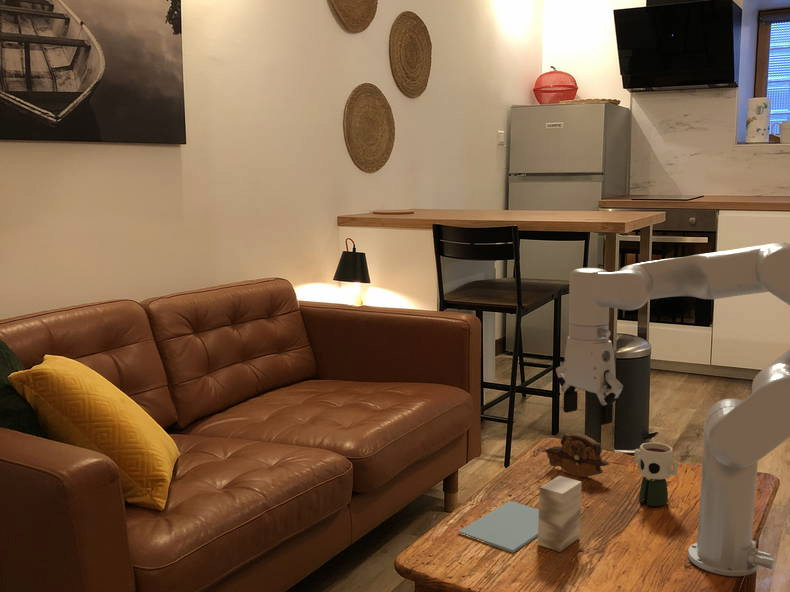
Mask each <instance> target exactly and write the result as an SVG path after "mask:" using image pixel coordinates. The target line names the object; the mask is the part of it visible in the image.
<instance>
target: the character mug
mask: <svg viewBox="0 0 790 592" xmlns="http://www.w3.org/2000/svg"><path fill="white" fill-rule="evenodd" d="M673 455H674V449H673V447H671V446H670V445H668V444H665V443H661V442H644V443H642V444H640V446H639V449H638V448H637V449H636V448H635V450H634V456H633V458H634V462H635V464H637V469H638V472H639V473H640V475H641V476H642V479H641V484H640V488H639V494H638V501H639V502H641V503H642V504H644V503H645V501H646V505H648V506H652V507H661V506H662V507H663V506H664V505H666V504H667V503H668V502H669V492H668V483H667V480H666V479H669V478H670V477H672V476H674V477H677V474H678V470H679V469H678V468H679V463H678V462H677V461H675V460H674V459H673Z"/></svg>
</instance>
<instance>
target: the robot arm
mask: <svg viewBox="0 0 790 592" xmlns="http://www.w3.org/2000/svg"><path fill="white" fill-rule="evenodd" d="M568 288H569V290H568V294H569V297H568V299H569V303H568V305H569V306H568V307H569V308H568V309H569V310H568V313H569V315H568V336H567V341H566V344H565V345H566V346H565V350H564V352H565V353H564V363H563V364H562V365H560V366H558V367H556V368H555V372H556V375H557V377H558V383H559V385H560V387H561V389H560V390H561V392H562V393H563V407H562V409H563V413H571V412H572V413H573V412H575V411H578V390H583V391H587V392H589V393H592V394H596V396H597V398H598V400H599V402H600V404H598V406H597V409H598V410H597V411H598V412H597V415H598V416H597V424H598V425H600V426H603V425H604V426H605V425H608V424H611V423H613V419H614V418H613V416H614V415H613V413H614V412H613V411H614V404H615V403H616V401H617V400H618V399H619V398H620V395H621V393H622V391H623V388H624V385H623V383H621V382H620V381H619V380H618V379H617V378H616V362H615V353H614V348H613V347H614V346H613V343H612V340H610V337H611V335H612V333H611V331H610V330H609V329H610V327H609V326H610V308H613V309H617V310H623V311H635V310H638V309H641V308H642V307H644V306H645V305H646V303H648V301H650V300H655V299H657V300H658V299H662V298H663V299H664V298H670V297H692V298H693V297H694V298H698V299H703V300H719V299H725V298H726V299H727V298H733V297H738V296H739V297H740V296H745V295H753V294H761V293H771V294H772V295H773V296H775V297H776V298H778V299H780V301H782V302H784V303H785V304H787V305H788V306H790V243H787V242H773V243H765V244H759V245H752V246H748V247H747V246H745V247H739V248H733V249H729V250H728V249H727V250H722V251H720V250H719V251H714V252H708V253H707V252H706V253H699V254H693V255H688V256H687V255H686V256H682V257H672V258H664V259H659V260H657V259H656V260H651V261H645V262H640V263H639V262H638V263H633V264H628V265H625V266H623V267H621V268H620V269H619V270H618V271H611V272H609V271H607V270H606V269H603V268H597V267H581V268H576V269H573V270H571V272H570V274H569V287H568ZM576 389H578V390H576ZM751 392H752V393H750V394H749V395H748V396H747V397H746V398H744V399H743V400H741V399H739V398H738V399H737V398H726V399H725V398H724V399H721V400H719V401H717V402H715V403H714V404H713V405H712V406H711V407H710V408H709V410H708V411H707V413H706V415H705V419H704V424H703V425H704V426H703V450H702V451H703V452H702V453H703V455H702V470H701V471H702V472H701V479H700V480H701V482H700V483H701V484H700V496H699V497H700V498H699V513H698V525H697V526H698V527H697V537H696V538H697V540H696V542H695V543H692V544H691V545H690V546H689V547H688V549H687V557H688V559H689V560H690V562H691V563H692V564H694V565H695V566H697V567H698V568H700V569H701V570H704V571H706V572H708V573H709V572H710V573H712V574H716V575H721V576H725V577H726V576H727V577H745V576H750V575H752V574H755V573H756V572H757V571H758V569H759V566H760V567H762V568H765V569H768V570H773V569H774V566H775V559H774V558H772V554H771V553H768V552H767V551H766V552H765V551H761V550H759V549H758V548H756V547H757V546H756V545H757V541H755V540H753V539H752V538H753V527H754V515H755V512H754V511H755V499H756V491H757V490H756V489H757V480H758V479H757V477H758V461H761V459H763V458H764V457H765V456H767V455H768V454H770V453H771V452H772V451H774V450H775V449H776V448H777V447H779V446H780V445H782V444H783V443H784V442H785V441H787V440H788V439H789V438H790V348H788V350H786V351H784V352H783V354H781V355H780V356H779V357H778V358H776V359H775V360H774V361H772V362H771V363H770V364H768V365H767V366H765V367H764V368H763V369H761V370H760V371H759V372H758V373H757V374H756V375H755V377H754V379H753V380H752V385H751ZM605 395H606V396H605Z"/></svg>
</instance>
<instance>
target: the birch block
mask: <svg viewBox="0 0 790 592" xmlns="http://www.w3.org/2000/svg"><path fill="white" fill-rule="evenodd" d="M538 494H539V496H538V497H539V498H538V499H539V500H538V509H539V521H538V536H537V545H538V546H540V547H544V548H546V549H550V550H553V551H556V552H559V553H561V552H563V551H564V550H565V549H566V548H568V547H570V545H572V544H573V543H574V542H576V541H577V540H579V539H580V529H581V505H582V481H580V480H577V479H574V478H573V479H572V478H570V477H566V476H561V475H558V476H556V477H554V478H553V479H551V480H549V481H548V482H546V483H545V484H542V485H541V486H539V493H538Z"/></svg>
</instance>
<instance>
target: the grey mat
mask: <svg viewBox="0 0 790 592" xmlns="http://www.w3.org/2000/svg"><path fill="white" fill-rule="evenodd" d="M538 521H539V508H535V507H531V506H529V505H525V504H522V503H519V502H515V501H513V500H512V501H511V500H509V501H507V502H506V503H504V504H502V505H500V506H499V507H496V508H495V509H493V510H492V511H490V512H488V513H487V514H485V515H483V516H481V517H480V518H479V519H477V520H475V521H473V522H471V523H469V524H468V525H466V526H464V527H463V528H461V529H459V530H458V532H460V533H462V534H465V535H468V536H470V537H473V538H476V539H479V540H481V541H484V542H486V543H488V544H487V545H489V544H490V545H489V546H491V545H493V546H492V547H494V546H495V547H494V548H497V547H498V548H497V549H501V550H502V551H506V552H509V553H512V554H514V553H516V552H517V551H519V550H520V549H521V548H523V547H524V546H526V545H527V544H528V543H530V542H532V541H533V540H535V538H538ZM458 532H457V533H458ZM486 543H485V544H486Z"/></svg>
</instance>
